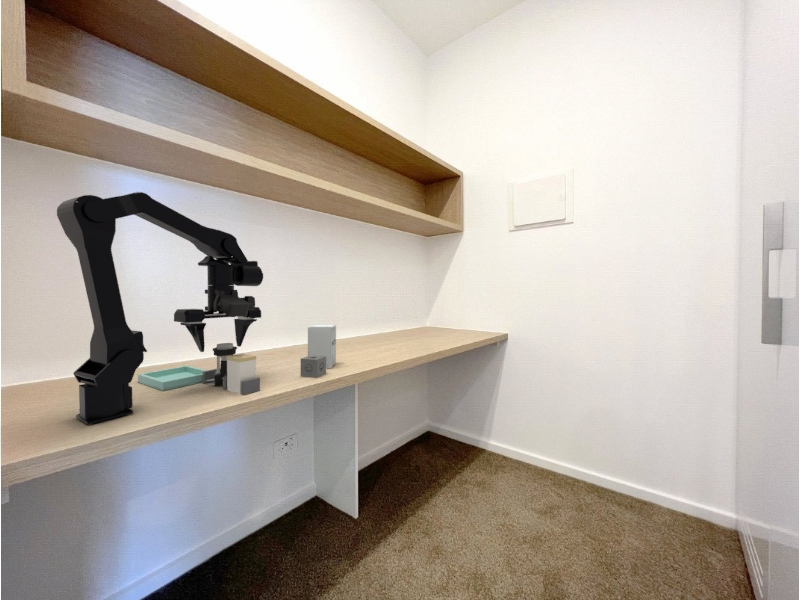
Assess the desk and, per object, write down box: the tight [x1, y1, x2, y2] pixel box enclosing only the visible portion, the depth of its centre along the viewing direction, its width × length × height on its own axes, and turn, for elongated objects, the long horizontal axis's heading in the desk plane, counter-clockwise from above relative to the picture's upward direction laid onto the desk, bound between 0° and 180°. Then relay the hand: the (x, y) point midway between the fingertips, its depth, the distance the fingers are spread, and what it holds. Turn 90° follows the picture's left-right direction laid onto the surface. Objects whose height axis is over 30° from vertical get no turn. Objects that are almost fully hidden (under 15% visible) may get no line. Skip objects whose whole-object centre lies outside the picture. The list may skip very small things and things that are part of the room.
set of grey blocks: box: [202, 368, 261, 396], centre depth 79 cm, size 4×17×3 cm, turn 58°
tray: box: [137, 365, 207, 392], centre depth 84 cm, size 12×14×2 cm
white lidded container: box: [226, 353, 257, 395], centre depth 77 cm, size 4×5×8 cm
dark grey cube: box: [300, 355, 327, 379], centre depth 91 cm, size 5×5×5 cm
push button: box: [206, 342, 238, 387], centre depth 81 cm, size 7×5×10 cm
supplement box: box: [307, 324, 337, 370], centre depth 102 cm, size 7×7×13 cm
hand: (221, 349), depth 81 cm, fingers open, 9 cm apart
